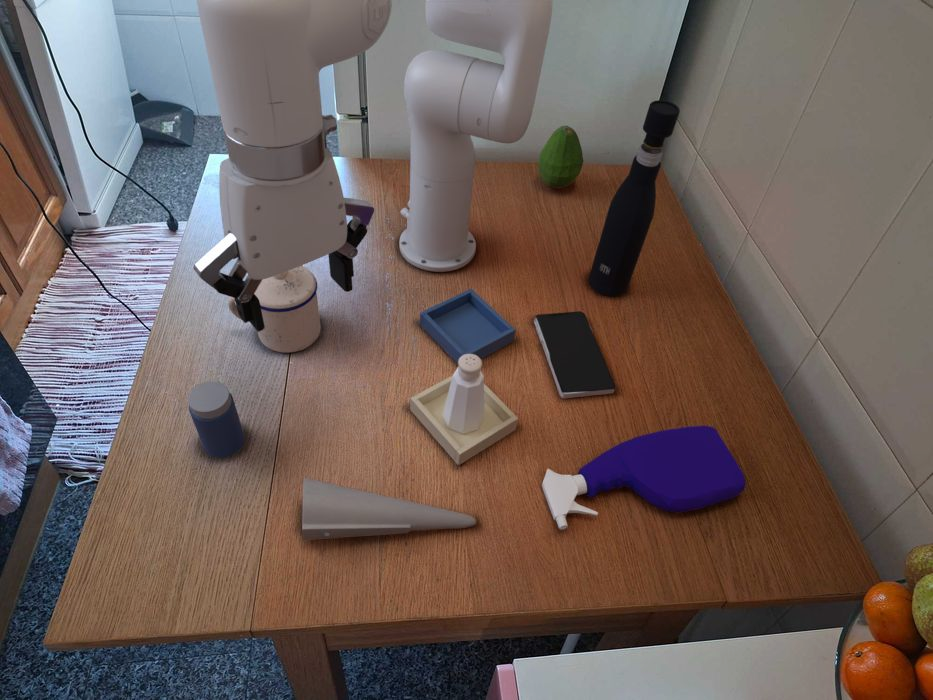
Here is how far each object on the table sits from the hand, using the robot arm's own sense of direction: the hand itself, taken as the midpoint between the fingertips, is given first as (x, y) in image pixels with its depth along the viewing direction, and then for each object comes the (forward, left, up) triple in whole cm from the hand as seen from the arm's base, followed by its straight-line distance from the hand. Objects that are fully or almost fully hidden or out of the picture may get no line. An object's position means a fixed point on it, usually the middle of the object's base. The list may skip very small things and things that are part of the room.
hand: (299, 302), depth 64 cm
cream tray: (+8, +16, -23) cm, 29 cm away
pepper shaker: (-6, -10, -23) cm, 25 cm away
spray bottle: (+28, +28, -23) cm, 46 cm away
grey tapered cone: (+14, +1, -23) cm, 27 cm away
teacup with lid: (-19, +4, -23) cm, 30 cm away
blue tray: (-4, +26, -23) cm, 35 cm away
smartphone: (+8, +36, -23) cm, 44 cm away
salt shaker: (+8, +16, -22) cm, 29 cm away
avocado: (-25, +64, -23) cm, 72 cm away
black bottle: (0, +52, -23) cm, 57 cm away
